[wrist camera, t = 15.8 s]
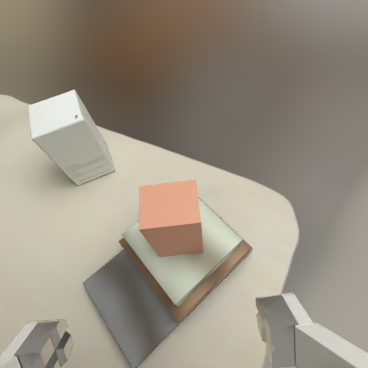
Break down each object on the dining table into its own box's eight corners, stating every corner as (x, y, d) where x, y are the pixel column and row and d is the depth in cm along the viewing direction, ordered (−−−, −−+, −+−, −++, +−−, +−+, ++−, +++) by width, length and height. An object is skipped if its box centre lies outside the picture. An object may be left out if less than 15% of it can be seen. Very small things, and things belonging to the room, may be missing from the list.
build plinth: (136, 367, 28) (114, 379, 22) (87, 284, 33) (58, 275, 27) (251, 251, 33) (261, 234, 27) (193, 196, 39) (190, 170, 32)
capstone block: (203, 252, 27) (201, 222, 19) (159, 257, 27) (138, 229, 19) (199, 218, 29) (195, 179, 21) (158, 223, 29) (139, 186, 21)
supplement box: (107, 143, 46) (76, 87, 36) (116, 171, 43) (84, 119, 32) (70, 156, 45) (26, 104, 35) (76, 187, 42) (29, 139, 31)
